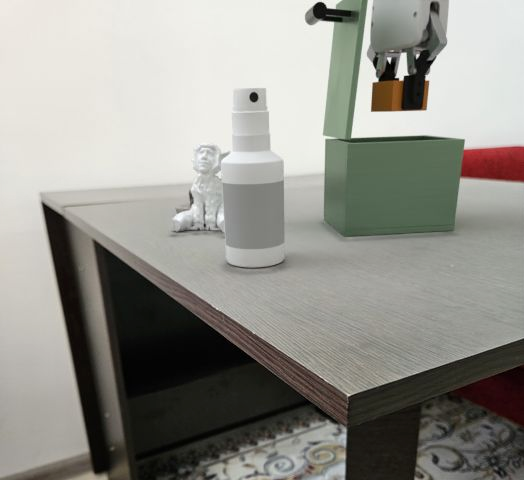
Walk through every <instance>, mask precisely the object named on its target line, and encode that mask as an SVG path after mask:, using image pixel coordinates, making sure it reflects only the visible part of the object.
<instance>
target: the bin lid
mask: <svg viewBox="0 0 524 480" xmlns="http://www.w3.org/2000/svg"><path fill="white" fill-rule="evenodd" d="M368 3H369V0H340V1H339V2H338V3H336V5H335V8H330V7H327V4H325V2H323V1H317V2H316V3H314V4H313V5H312V6H311V7H310V8H309V9H308V10H307V11H306V12H305V14H304V20H305V23H306V24H307V25H308V26H315V25H316V24H318V23H319V22H326V23H333V30H332V41H331V49H330V59H329V60H330V61H329V70H328V80H327V90H326V100H325V110H324V118H323V119H324V120H323V130H322V136H324V137H328V138H329V137H330V138H333V139H336V138H340V139H345V140H351V138H352V133H353V127H354V126H353V125H354V119H355V118H354V117H355V108H356V103H357V102H356V100H357V93H358V86H359V85H358V84H359V76H360V70H361V69H360V68H361V61H362V51H363V44H364V36H365V35H364V34H365V27H366V18H367V11H368Z"/></svg>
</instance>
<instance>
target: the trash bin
mask: <svg viewBox="0 0 524 480" xmlns="http://www.w3.org/2000/svg"><path fill="white" fill-rule="evenodd" d="M465 142H466V139H465V138H457V137H447V136H440V135H439V136H438V135H437V136H436V135H429V134H420V135H395V136H392V135H391V136H369V137H368V136H367V137H351V140H345V139H340V138H325V139H324V179H323V181H324V182H323V184H324V185H323V220H324V221H325V222H326V223H328V224H329V225H330V226H331V227H332V228H334V229H335V230H336V231H337V232H338V233H339V234H341V235H342V236H343V237H361V236H362V237H363V236H377V235H378V236H379V235H395V234H397V235H398V234H415V233H434V232H449V231H450V232H451V231H455V222H456V216H457V215H456V214H457V207H458V200H459V198H458V197H459V192H460V182H461V175H462V167H463V160H464V159H463V158H464V151H465Z"/></svg>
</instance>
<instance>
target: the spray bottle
mask: <svg viewBox="0 0 524 480" xmlns="http://www.w3.org/2000/svg"><path fill="white" fill-rule="evenodd" d="M232 100H233V101H232V103H233V107H232V112H231V126H232V133H231V143H232V151H230V154H229V155H228V156H226V157H225V158H224V159H223V160H222V161H221V171H220V174H221V175H220V176H221V177H220V178H222V194H223V211H224V228H225V233H224V240H225V241H224V243H225V258H226V261H227V263H228V264H230V265H231V266H235V267H240V268H249V269H250V268H253V269H254V268H267V267H272V266H275V265H278V264H280V263H282V262H283V261H284V259H285V257H286V255H285V254H286V253H285V250H286V249H285V248H286V246H285V244H286V243H285V240H286V239H285V182H284V181H285V171H284V170H285V169H284V168H285V166H284V164H285V163H284V159H283V158H282V157H281V156H280V155H279V154H277V153H275V152H274V151H272V150H271V132H270V111H268V106H267V88H266V87H241V88H233V89H232Z"/></svg>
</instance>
